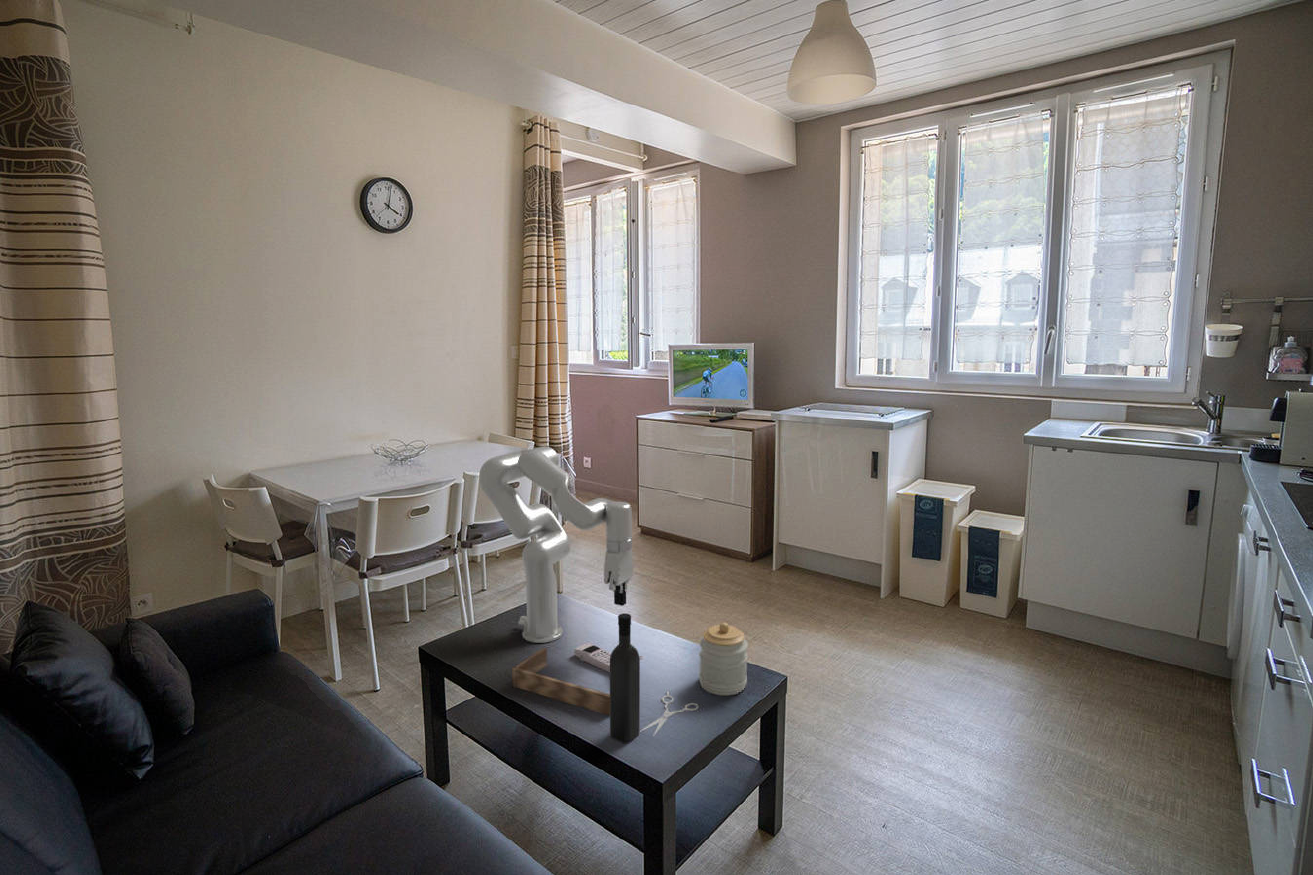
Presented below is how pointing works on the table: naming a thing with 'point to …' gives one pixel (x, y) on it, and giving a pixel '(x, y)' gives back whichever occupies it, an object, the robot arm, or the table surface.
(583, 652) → the mobile phone
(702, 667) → the jar
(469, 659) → the table surface
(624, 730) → the wine bottle
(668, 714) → the scissors
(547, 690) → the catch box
